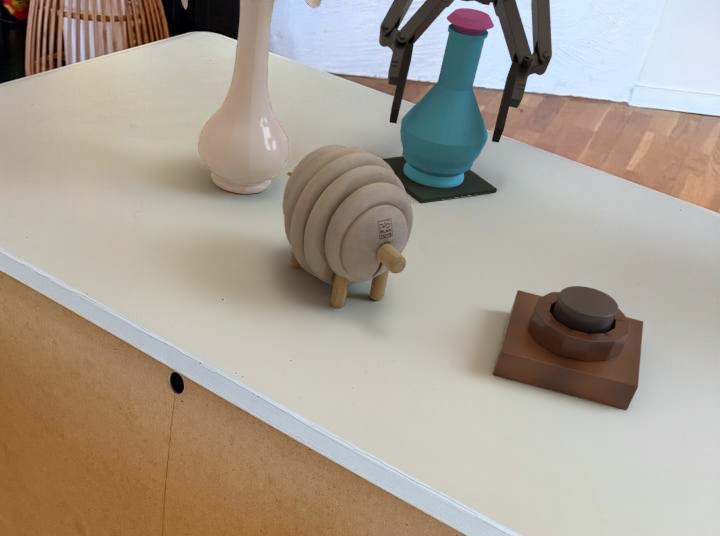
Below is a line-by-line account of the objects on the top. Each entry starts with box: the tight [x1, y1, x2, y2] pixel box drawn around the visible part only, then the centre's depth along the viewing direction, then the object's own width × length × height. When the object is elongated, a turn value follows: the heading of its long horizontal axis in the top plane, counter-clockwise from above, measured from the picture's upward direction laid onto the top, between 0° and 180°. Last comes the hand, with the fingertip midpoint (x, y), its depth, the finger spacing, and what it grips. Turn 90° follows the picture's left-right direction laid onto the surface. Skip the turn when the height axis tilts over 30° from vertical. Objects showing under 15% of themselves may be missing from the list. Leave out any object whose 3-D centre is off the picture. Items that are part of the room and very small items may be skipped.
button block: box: [492, 289, 644, 411], centre depth 77 cm, size 11×11×4 cm
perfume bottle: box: [399, 7, 495, 188], centre depth 95 cm, size 9×9×15 cm
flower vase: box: [181, 0, 322, 195], centre depth 85 cm, size 13×18×25 cm
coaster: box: [382, 155, 498, 204], centre depth 100 cm, size 10×10×1 cm
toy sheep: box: [282, 144, 414, 308], centre depth 79 cm, size 11×17×11 cm, turn 31°
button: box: [552, 285, 619, 334], centre depth 75 cm, size 5×5×2 cm
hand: (445, 125), depth 94 cm, fingers open, 10 cm apart
